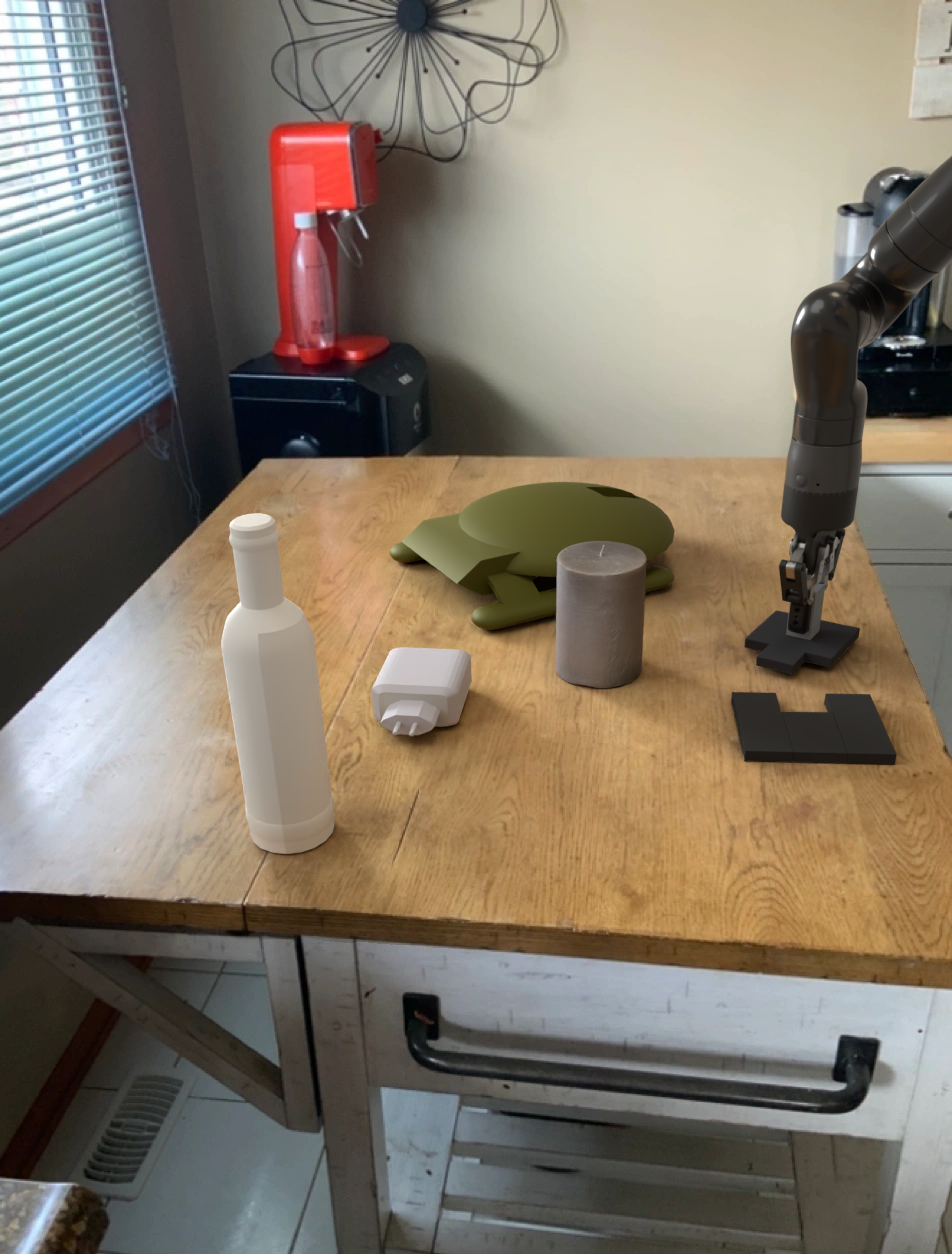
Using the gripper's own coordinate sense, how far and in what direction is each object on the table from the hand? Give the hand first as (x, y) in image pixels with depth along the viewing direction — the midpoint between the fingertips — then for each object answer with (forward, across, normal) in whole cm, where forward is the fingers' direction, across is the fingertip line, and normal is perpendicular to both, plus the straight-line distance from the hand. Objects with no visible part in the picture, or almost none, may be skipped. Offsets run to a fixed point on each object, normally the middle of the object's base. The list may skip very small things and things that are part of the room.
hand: (803, 625), depth 129 cm
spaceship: (+3, +6, +38) cm, 39 cm away
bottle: (+3, -60, +25) cm, 64 cm away
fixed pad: (+3, -18, -8) cm, 19 cm away
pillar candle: (+3, -17, +17) cm, 24 cm away
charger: (+3, -37, +27) cm, 46 cm away
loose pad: (+2, -2, 0) cm, 3 cm away
